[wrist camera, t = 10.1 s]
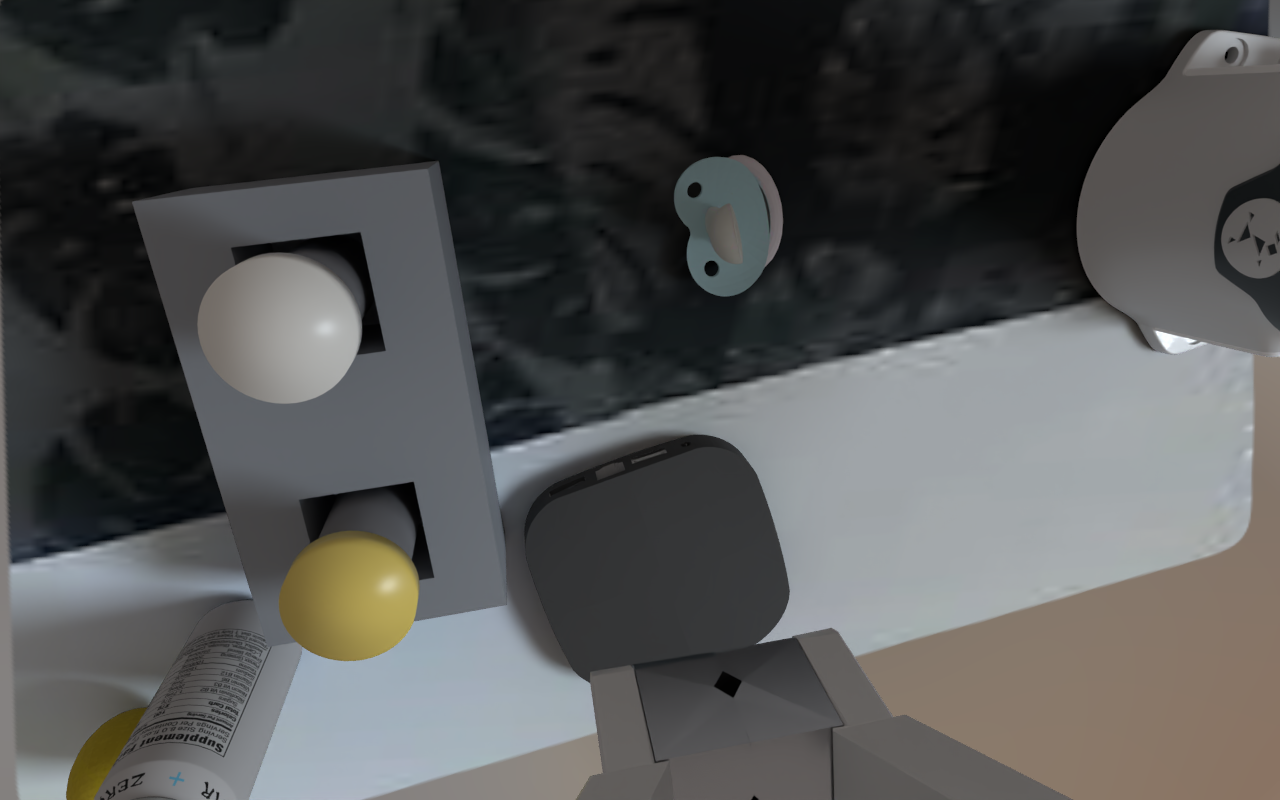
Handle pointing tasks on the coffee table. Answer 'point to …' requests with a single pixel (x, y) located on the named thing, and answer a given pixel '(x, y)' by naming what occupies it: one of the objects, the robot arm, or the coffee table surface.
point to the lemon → (101, 755)
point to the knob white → (288, 319)
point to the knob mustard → (356, 576)
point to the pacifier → (729, 221)
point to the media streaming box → (657, 556)
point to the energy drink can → (208, 715)
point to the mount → (343, 380)
